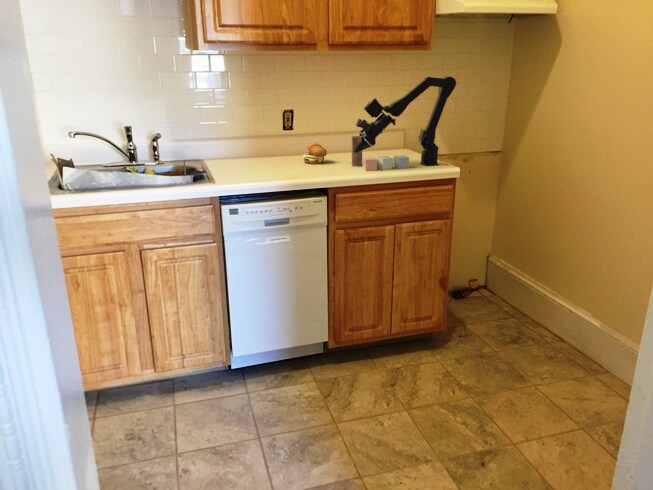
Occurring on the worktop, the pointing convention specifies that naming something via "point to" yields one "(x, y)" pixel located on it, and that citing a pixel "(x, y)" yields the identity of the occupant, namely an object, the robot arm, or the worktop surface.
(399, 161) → the slate cube
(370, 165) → the terracotta cube
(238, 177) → the worktop surface
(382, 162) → the sage cube
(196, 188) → the worktop surface
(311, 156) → the cheeseburger
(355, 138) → the walnut block
